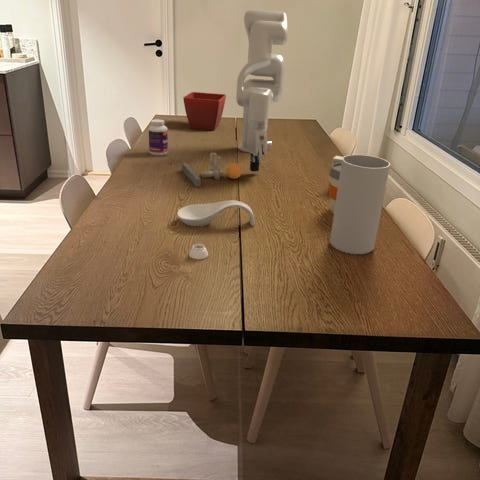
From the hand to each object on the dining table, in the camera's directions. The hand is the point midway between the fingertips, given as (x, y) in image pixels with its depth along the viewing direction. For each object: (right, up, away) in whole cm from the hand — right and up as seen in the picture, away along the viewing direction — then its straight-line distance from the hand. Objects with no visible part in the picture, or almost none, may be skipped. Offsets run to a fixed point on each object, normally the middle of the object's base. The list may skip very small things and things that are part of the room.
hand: (254, 170), depth 195 cm
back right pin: (-16, -2, -3) cm, 17 cm away
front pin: (-12, -2, -4) cm, 13 cm away
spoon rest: (-13, -23, -45) cm, 52 cm away
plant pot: (-25, +33, +70) cm, 81 cm away
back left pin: (-15, -4, -7) cm, 17 cm away
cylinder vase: (+26, -29, -54) cm, 67 cm away
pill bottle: (-41, +10, +19) cm, 47 cm away
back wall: (-24, -4, -8) cm, 26 cm away
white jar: (-17, -32, -65) cm, 74 cm away
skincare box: (+31, -9, -10) cm, 34 cm away
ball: (-8, -1, -7) cm, 11 cm away
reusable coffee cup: (+29, -18, -30) cm, 46 cm away
